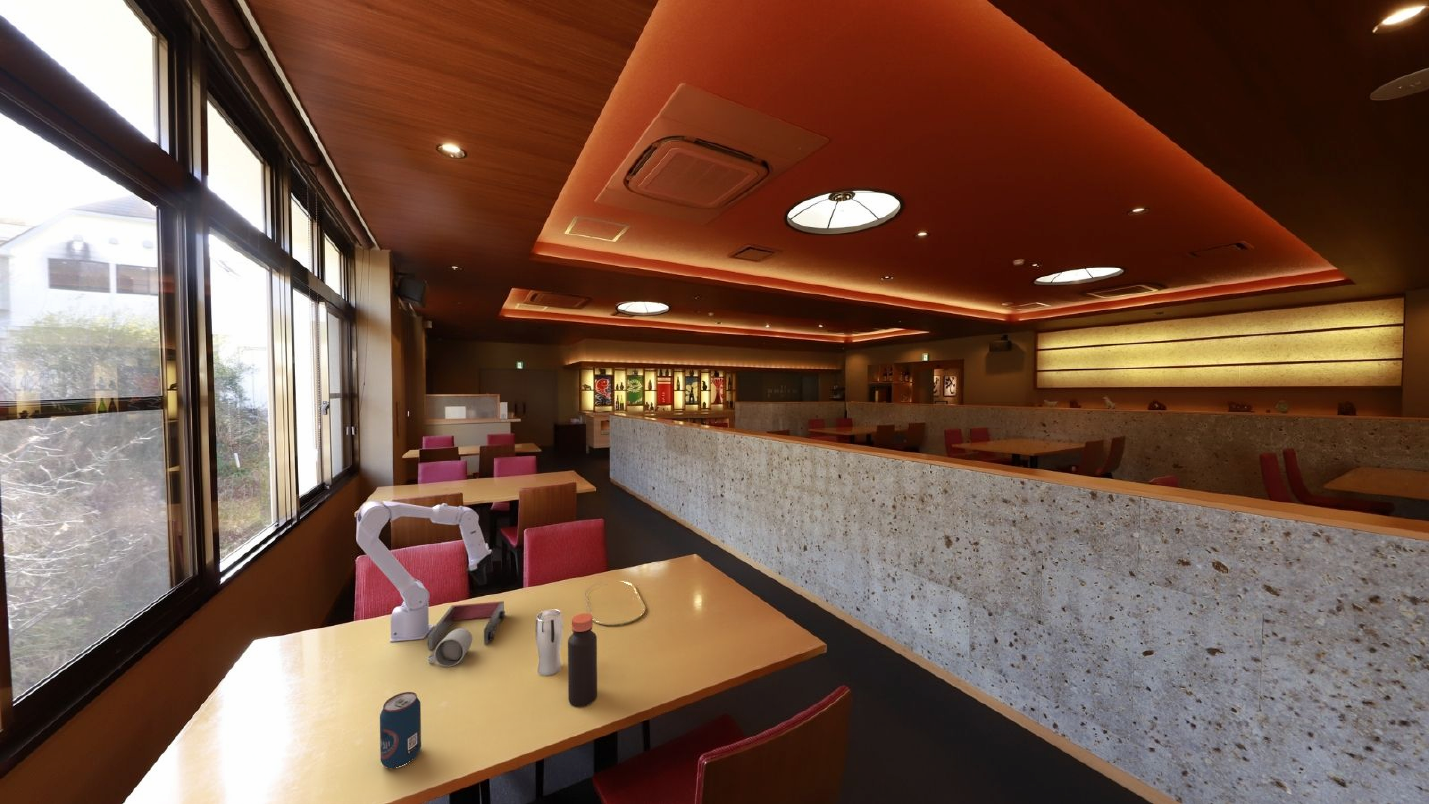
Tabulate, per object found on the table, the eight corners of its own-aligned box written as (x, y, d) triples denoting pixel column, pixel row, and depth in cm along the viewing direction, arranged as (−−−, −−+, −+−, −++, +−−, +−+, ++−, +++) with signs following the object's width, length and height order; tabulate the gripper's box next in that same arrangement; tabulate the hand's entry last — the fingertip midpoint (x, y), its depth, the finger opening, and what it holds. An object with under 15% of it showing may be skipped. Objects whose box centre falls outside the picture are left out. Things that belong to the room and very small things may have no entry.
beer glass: (557, 677, 122) (557, 621, 121) (531, 677, 122) (530, 621, 121) (566, 661, 129) (566, 608, 128) (541, 661, 129) (541, 608, 128)
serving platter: (592, 633, 145) (592, 628, 145) (581, 588, 177) (581, 584, 177) (651, 622, 152) (651, 617, 152) (630, 581, 184) (630, 577, 184)
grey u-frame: (425, 650, 134) (425, 634, 134) (449, 619, 152) (449, 605, 152) (490, 643, 137) (490, 628, 137) (506, 614, 155) (506, 601, 155)
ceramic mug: (474, 649, 135) (473, 623, 135) (464, 665, 127) (463, 638, 127) (434, 653, 133) (433, 627, 133) (422, 670, 125) (421, 642, 125)
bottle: (573, 689, 117) (573, 611, 116) (600, 689, 117) (599, 611, 116) (564, 707, 110) (563, 624, 110) (592, 708, 110) (591, 625, 109)
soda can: (372, 766, 93) (371, 707, 93) (406, 741, 99) (405, 686, 99) (396, 776, 90) (395, 716, 90) (429, 750, 97) (428, 694, 97)
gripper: (480, 549, 148) (492, 586, 151) (492, 529, 162) (503, 564, 165) (457, 555, 147) (470, 592, 150) (471, 534, 161) (483, 569, 164)
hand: (486, 578), depth 157 cm, fingers open, 7 cm apart
